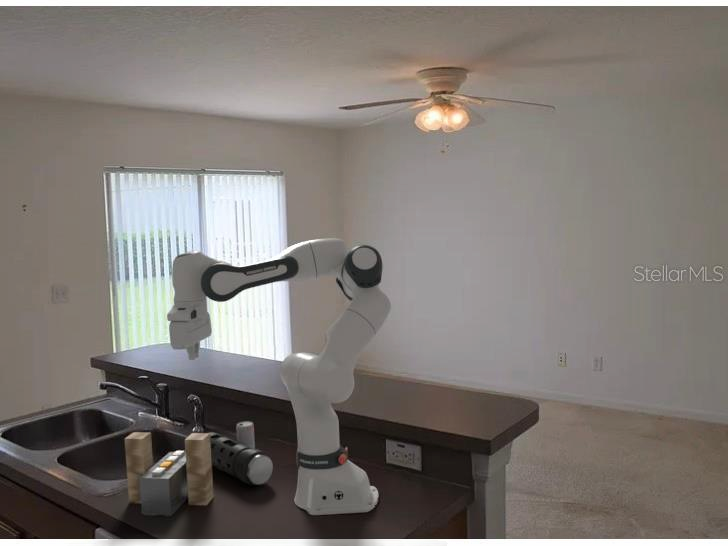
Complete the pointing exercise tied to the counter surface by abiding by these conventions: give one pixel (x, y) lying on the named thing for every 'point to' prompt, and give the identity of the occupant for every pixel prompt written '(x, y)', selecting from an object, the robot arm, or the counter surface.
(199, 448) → the oak post
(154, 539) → the counter surface
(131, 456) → the oak post
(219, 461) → the muzzle brake
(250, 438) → the energy drink
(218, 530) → the counter surface
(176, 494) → the button box
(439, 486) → the counter surface
